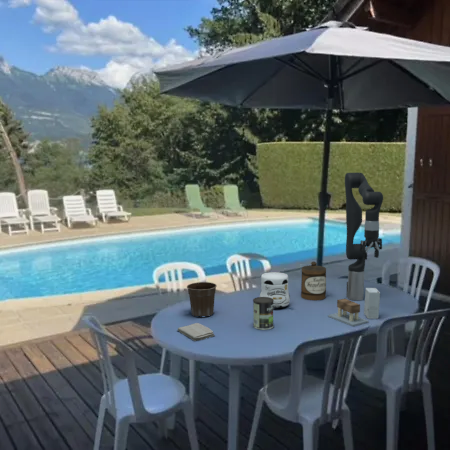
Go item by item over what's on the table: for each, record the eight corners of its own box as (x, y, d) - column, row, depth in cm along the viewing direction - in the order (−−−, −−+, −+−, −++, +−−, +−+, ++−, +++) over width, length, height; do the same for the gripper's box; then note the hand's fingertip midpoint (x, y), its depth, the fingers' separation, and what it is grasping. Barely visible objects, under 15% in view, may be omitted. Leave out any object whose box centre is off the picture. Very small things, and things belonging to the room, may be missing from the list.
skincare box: (363, 314, 267) (364, 287, 265) (374, 313, 267) (375, 287, 264) (368, 319, 258) (368, 291, 256) (379, 319, 258) (380, 291, 256)
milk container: (275, 312, 271) (275, 281, 268) (253, 305, 284) (253, 275, 281) (296, 306, 282) (296, 275, 280) (274, 299, 295) (274, 270, 292)
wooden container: (306, 301, 290) (307, 265, 287) (297, 294, 304) (297, 259, 301) (330, 299, 294) (330, 263, 290) (319, 292, 308) (320, 258, 305)
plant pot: (181, 314, 270) (180, 286, 268) (202, 307, 282) (201, 280, 279) (202, 321, 259) (201, 291, 257) (223, 313, 271) (222, 285, 268)
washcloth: (195, 342, 231) (195, 336, 230) (176, 332, 245) (176, 326, 245) (216, 337, 238) (216, 331, 237) (196, 326, 252) (196, 321, 252)
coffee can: (276, 325, 252) (277, 298, 250) (267, 331, 243) (267, 303, 241) (259, 321, 257) (259, 295, 255) (249, 327, 248) (249, 300, 246)
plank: (337, 307, 262) (337, 299, 261) (345, 305, 264) (345, 298, 263) (351, 313, 251) (351, 306, 250) (359, 312, 253) (360, 304, 252)
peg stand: (328, 316, 263) (328, 306, 262) (343, 313, 269) (343, 303, 268) (352, 326, 248) (353, 316, 247) (368, 322, 253) (368, 312, 252)
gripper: (367, 231, 257) (366, 261, 259) (386, 228, 264) (385, 258, 266) (356, 229, 263) (356, 258, 265) (375, 226, 270) (374, 255, 273)
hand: (370, 258), depth 266 cm, fingers open, 8 cm apart
